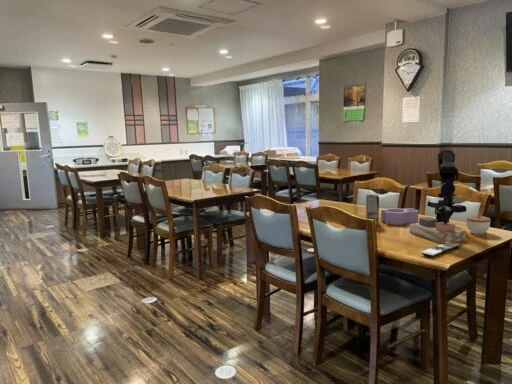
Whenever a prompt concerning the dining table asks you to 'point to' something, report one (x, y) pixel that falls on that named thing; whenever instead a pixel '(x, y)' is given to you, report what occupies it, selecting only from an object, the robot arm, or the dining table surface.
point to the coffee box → (372, 207)
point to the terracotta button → (445, 227)
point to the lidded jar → (478, 224)
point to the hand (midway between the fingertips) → (445, 223)
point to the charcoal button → (428, 222)
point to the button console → (437, 233)
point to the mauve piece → (399, 216)
